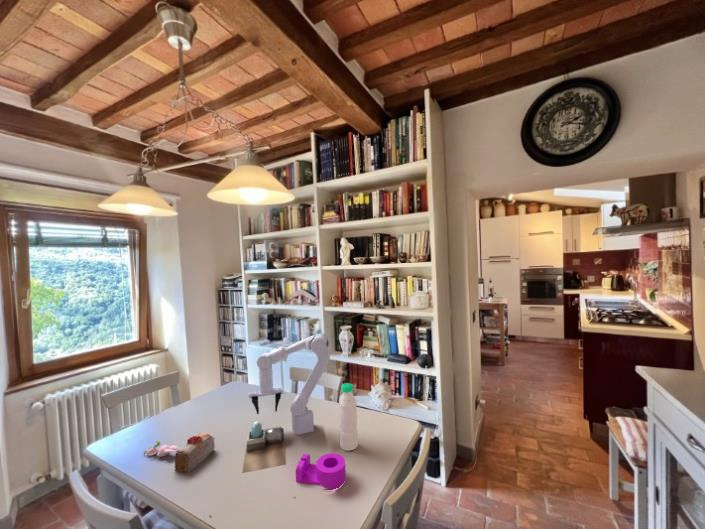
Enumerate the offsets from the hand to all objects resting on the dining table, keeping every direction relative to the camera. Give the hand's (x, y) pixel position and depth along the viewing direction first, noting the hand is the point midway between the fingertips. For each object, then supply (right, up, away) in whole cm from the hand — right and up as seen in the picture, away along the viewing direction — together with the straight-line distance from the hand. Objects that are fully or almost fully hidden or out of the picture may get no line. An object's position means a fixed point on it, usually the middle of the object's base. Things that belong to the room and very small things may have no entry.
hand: (267, 411), depth 130 cm
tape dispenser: (+27, -9, -29) cm, 41 cm away
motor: (+2, -8, -10) cm, 13 cm away
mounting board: (+4, -9, -15) cm, 18 cm away
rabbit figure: (-38, -11, -13) cm, 41 cm away
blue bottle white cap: (-1, -6, -11) cm, 12 cm away
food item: (-22, -11, -18) cm, 30 cm away
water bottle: (+36, -9, -11) cm, 39 cm away
